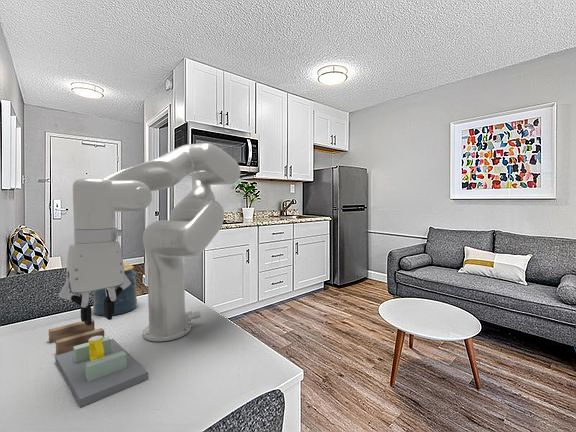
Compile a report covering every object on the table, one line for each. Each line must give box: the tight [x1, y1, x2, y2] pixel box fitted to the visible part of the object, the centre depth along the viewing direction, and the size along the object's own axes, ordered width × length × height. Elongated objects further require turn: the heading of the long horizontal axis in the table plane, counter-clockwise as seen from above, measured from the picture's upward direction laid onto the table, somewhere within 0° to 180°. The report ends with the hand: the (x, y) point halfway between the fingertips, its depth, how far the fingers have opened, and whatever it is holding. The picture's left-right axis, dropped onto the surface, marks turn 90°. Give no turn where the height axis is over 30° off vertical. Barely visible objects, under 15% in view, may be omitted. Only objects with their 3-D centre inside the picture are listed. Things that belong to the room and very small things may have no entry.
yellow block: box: [88, 336, 104, 361], centre depth 66 cm, size 6×3×6 cm, turn 47°
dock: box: [54, 336, 149, 408], centre depth 66 cm, size 12×22×4 cm, turn 47°
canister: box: [92, 262, 138, 317], centre depth 103 cm, size 13×13×18 cm
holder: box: [48, 318, 105, 356], centre depth 80 cm, size 10×11×3 cm
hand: (98, 320), depth 66 cm, fingers open, 3 cm apart
